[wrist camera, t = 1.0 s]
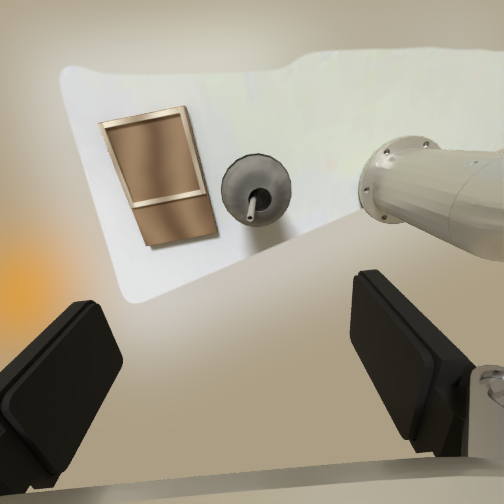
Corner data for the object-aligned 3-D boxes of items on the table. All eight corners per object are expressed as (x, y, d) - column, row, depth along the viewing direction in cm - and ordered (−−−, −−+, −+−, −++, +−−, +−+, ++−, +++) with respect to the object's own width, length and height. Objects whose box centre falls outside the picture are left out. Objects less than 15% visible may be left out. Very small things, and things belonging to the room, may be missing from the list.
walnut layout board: (186, 106, 32) (183, 105, 31) (217, 230, 39) (216, 233, 38) (102, 123, 32) (96, 122, 31) (148, 243, 39) (145, 247, 38)
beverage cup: (279, 194, 37) (322, 246, 19) (232, 206, 38) (231, 270, 20) (268, 142, 34) (307, 146, 16) (218, 157, 35) (200, 177, 17)
